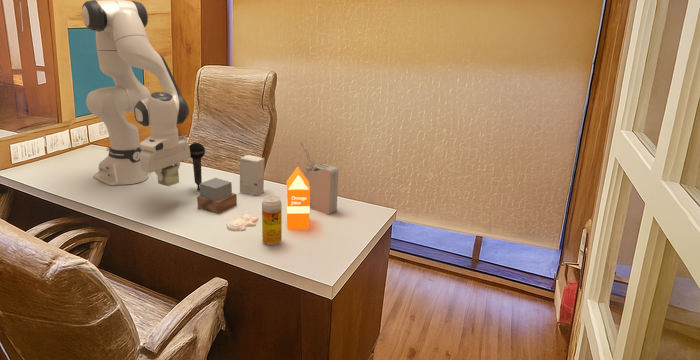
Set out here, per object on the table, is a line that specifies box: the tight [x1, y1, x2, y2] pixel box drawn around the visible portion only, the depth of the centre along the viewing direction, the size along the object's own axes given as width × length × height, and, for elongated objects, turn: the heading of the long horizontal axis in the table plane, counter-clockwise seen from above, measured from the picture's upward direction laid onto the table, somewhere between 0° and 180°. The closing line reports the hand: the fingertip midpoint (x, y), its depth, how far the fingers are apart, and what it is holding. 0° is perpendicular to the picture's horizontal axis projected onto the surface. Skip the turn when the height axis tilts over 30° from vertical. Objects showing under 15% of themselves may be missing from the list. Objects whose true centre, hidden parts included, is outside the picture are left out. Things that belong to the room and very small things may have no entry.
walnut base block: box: [196, 192, 238, 215], centre depth 177 cm, size 10×10×5 cm
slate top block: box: [199, 177, 233, 201], centre depth 175 cm, size 8×8×5 cm
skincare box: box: [239, 154, 265, 197], centre depth 191 cm, size 8×6×15 cm
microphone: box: [189, 142, 206, 192], centre depth 189 cm, size 7×7×20 cm
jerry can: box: [300, 141, 339, 215], centre depth 178 cm, size 15×5×25 cm, turn 54°
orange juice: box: [286, 166, 311, 230], centre depth 164 cm, size 8×9×20 cm
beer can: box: [261, 195, 283, 247], centre depth 151 cm, size 6×6×15 cm
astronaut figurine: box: [225, 213, 259, 232], centre depth 165 cm, size 9×12×3 cm
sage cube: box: [156, 165, 180, 187], centre depth 170 cm, size 5×5×6 cm
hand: (168, 177), depth 170 cm, fingers closed on sage cube, 5 cm apart
